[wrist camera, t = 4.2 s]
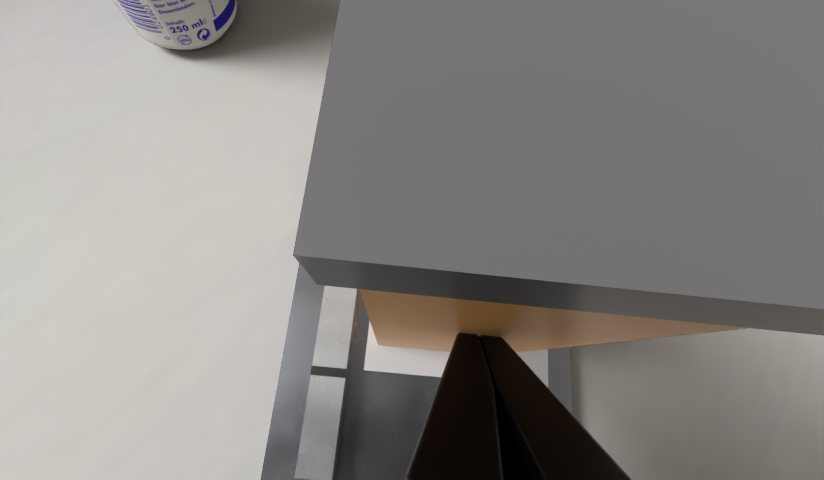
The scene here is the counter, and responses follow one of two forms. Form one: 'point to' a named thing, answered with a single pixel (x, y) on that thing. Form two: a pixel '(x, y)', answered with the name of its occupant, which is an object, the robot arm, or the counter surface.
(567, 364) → the plate
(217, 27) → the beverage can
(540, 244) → the fader tab
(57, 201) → the counter surface
